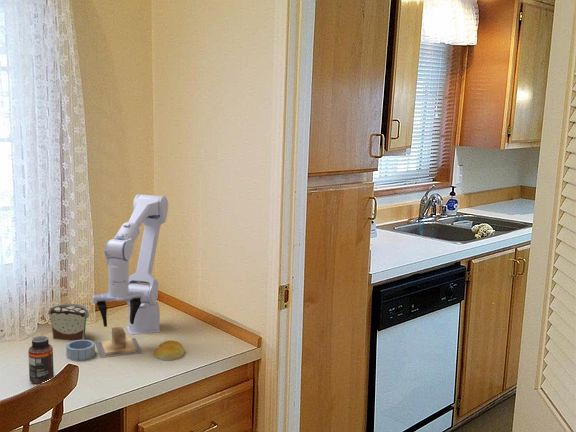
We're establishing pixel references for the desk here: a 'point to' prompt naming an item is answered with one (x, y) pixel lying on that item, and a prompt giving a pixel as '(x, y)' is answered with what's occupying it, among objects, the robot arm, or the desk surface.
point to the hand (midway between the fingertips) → (118, 324)
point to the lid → (118, 343)
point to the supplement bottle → (40, 360)
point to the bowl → (80, 350)
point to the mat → (102, 354)
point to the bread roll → (169, 350)
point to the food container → (68, 321)
